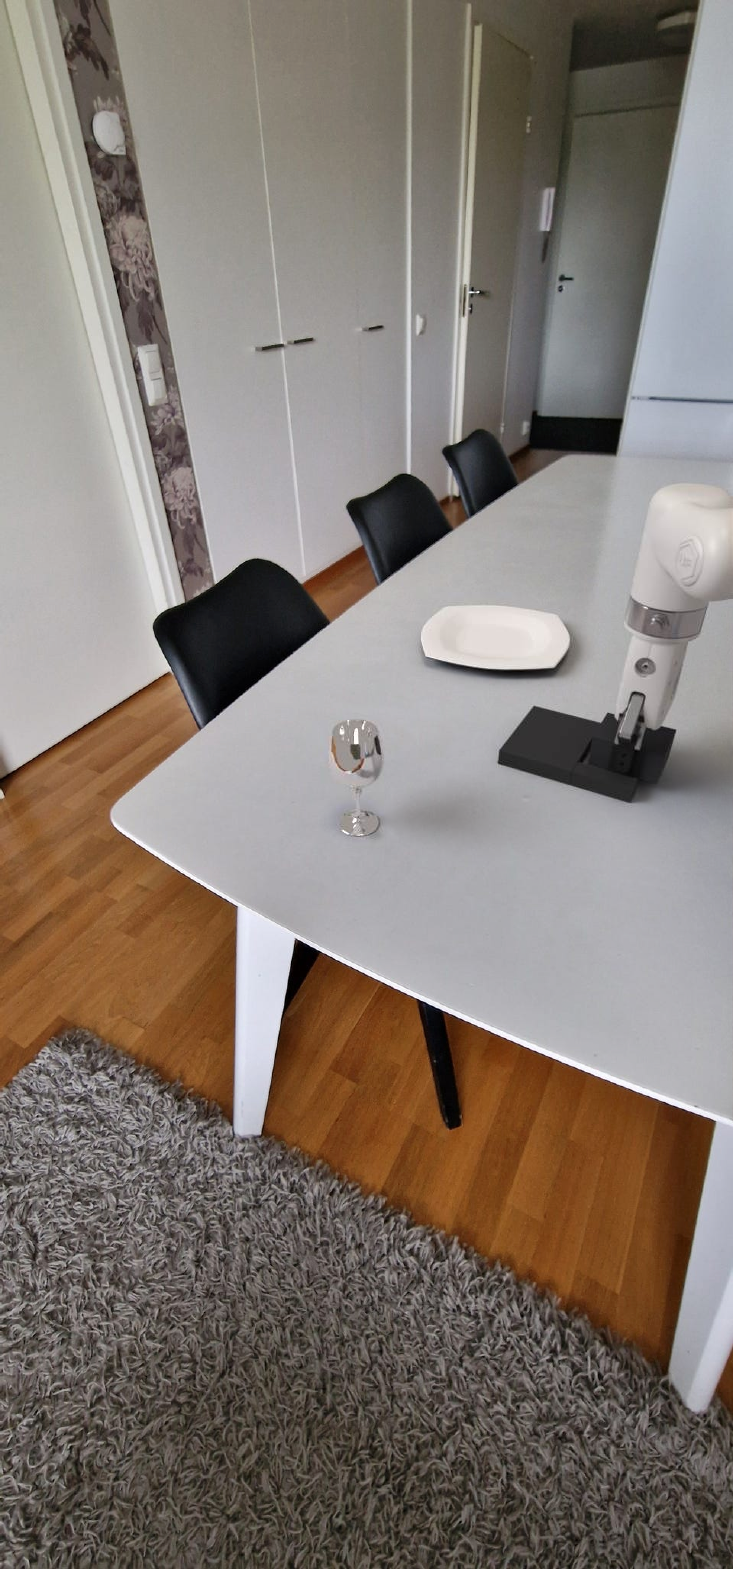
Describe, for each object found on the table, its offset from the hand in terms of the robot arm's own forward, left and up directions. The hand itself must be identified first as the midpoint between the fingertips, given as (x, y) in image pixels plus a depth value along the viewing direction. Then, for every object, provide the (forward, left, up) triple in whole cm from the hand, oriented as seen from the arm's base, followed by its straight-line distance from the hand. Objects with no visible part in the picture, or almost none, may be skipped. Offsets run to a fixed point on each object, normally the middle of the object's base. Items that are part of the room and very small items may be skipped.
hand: (629, 757), depth 83 cm
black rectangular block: (0, 0, -1) cm, 1 cm away
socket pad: (+6, 0, -2) cm, 6 cm away
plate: (+27, -24, -2) cm, 36 cm away
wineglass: (+23, +24, -2) cm, 33 cm away
